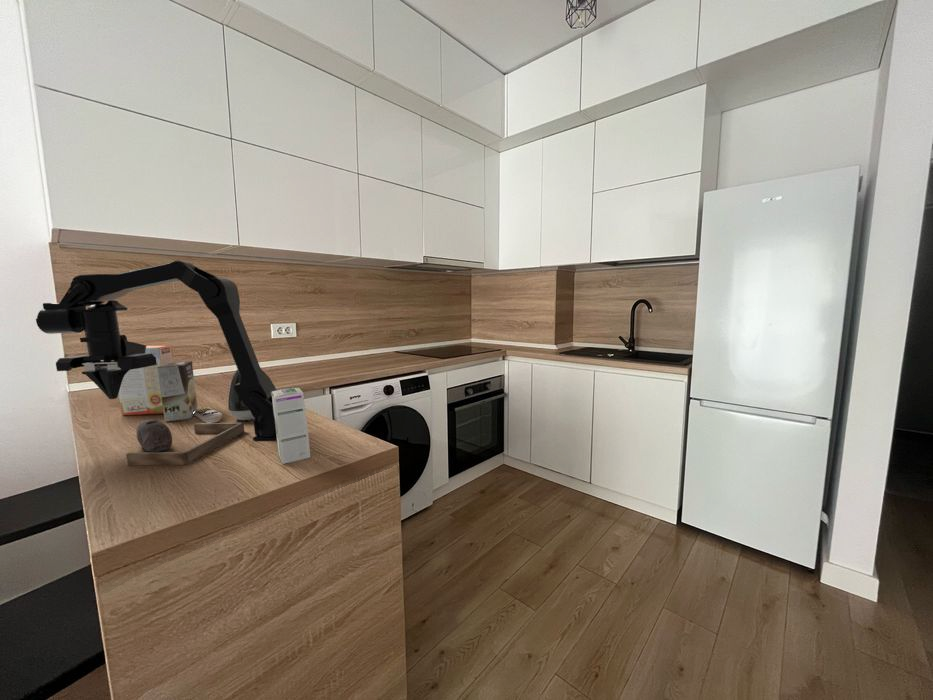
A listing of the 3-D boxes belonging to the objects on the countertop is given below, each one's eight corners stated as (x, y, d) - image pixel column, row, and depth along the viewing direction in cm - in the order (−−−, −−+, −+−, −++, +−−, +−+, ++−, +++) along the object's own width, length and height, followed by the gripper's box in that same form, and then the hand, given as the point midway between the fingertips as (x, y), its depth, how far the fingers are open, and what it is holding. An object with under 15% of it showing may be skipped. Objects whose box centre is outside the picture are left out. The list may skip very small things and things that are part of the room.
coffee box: (191, 418, 111) (183, 365, 108) (164, 422, 108) (156, 367, 106) (198, 410, 119) (192, 360, 117) (174, 413, 117) (166, 362, 114)
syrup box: (311, 458, 80) (305, 391, 78) (280, 465, 77) (273, 395, 75) (306, 449, 85) (300, 386, 83) (277, 455, 82) (270, 390, 80)
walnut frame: (244, 431, 98) (243, 422, 97) (186, 464, 78) (184, 453, 78) (197, 432, 98) (195, 423, 98) (127, 465, 79) (126, 454, 79)
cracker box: (181, 408, 122) (172, 344, 119) (167, 414, 116) (157, 346, 113) (137, 410, 122) (127, 346, 119) (121, 416, 116) (110, 348, 113)
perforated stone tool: (133, 444, 92) (128, 416, 91) (160, 437, 96) (156, 411, 95) (146, 459, 82) (141, 429, 81) (176, 451, 86) (172, 422, 85)
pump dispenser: (247, 425, 103) (241, 370, 101) (221, 421, 107) (214, 369, 105) (278, 414, 112) (273, 364, 110) (253, 411, 116) (248, 362, 114)
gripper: (171, 327, 93) (179, 389, 95) (98, 329, 94) (108, 391, 96) (129, 331, 82) (140, 401, 84) (47, 334, 83) (60, 403, 85)
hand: (113, 398), depth 87 cm, fingers closed
